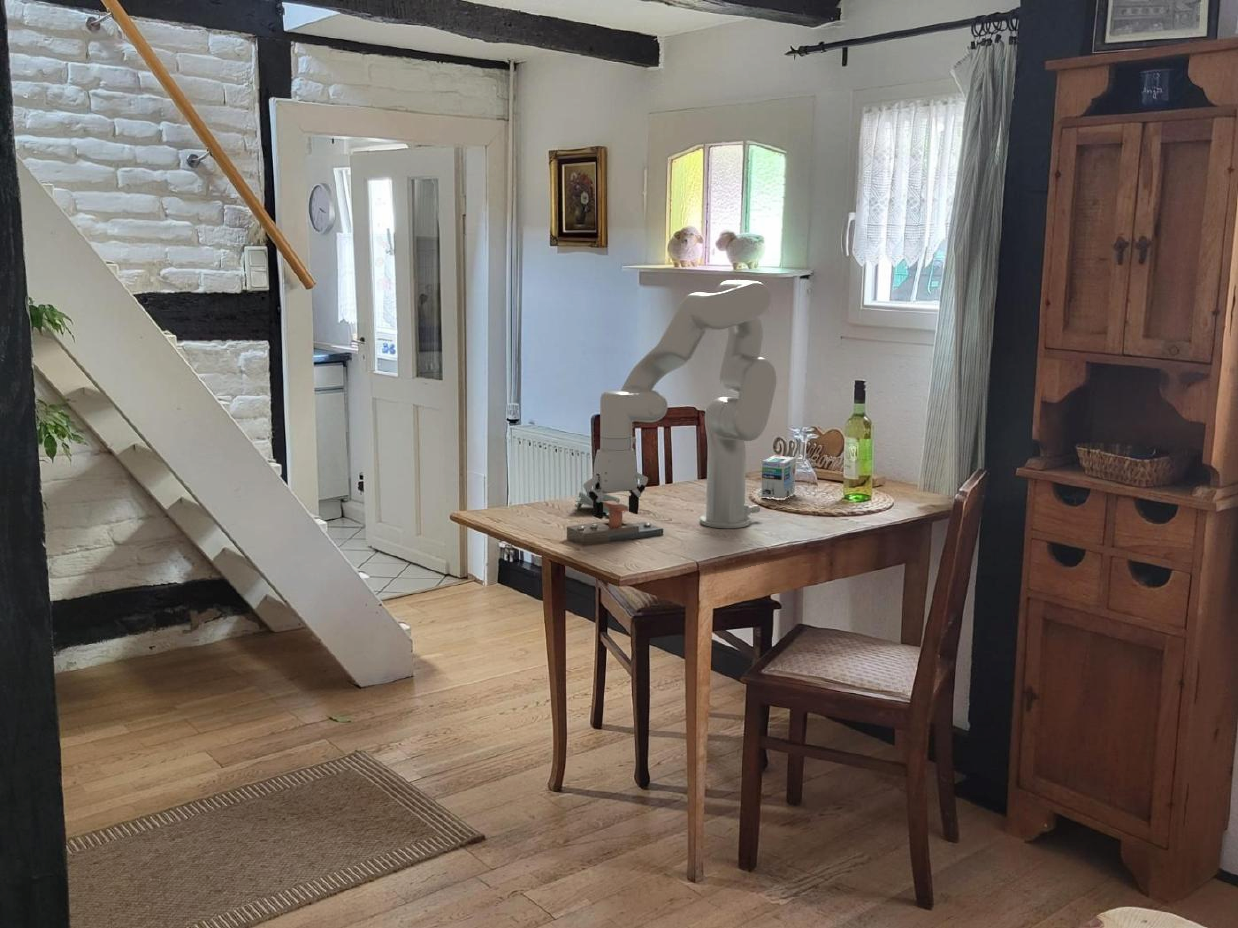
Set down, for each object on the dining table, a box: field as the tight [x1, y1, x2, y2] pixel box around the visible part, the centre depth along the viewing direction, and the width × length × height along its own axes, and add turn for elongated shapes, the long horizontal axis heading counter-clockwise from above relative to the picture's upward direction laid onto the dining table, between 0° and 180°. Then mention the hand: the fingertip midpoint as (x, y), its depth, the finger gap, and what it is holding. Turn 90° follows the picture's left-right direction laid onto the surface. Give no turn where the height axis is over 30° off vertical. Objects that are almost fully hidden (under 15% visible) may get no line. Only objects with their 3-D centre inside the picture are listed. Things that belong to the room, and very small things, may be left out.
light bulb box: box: [760, 454, 797, 498], centre depth 315 cm, size 11×7×11 cm, turn 154°
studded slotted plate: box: [566, 519, 664, 547], centre depth 269 cm, size 22×8×4 cm, turn 122°
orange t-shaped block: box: [604, 501, 629, 528], centre depth 269 cm, size 3×7×8 cm, turn 32°
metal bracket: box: [574, 488, 629, 517], centre depth 297 cm, size 14×6×15 cm
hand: (616, 515), depth 269 cm, fingers open, 9 cm apart
